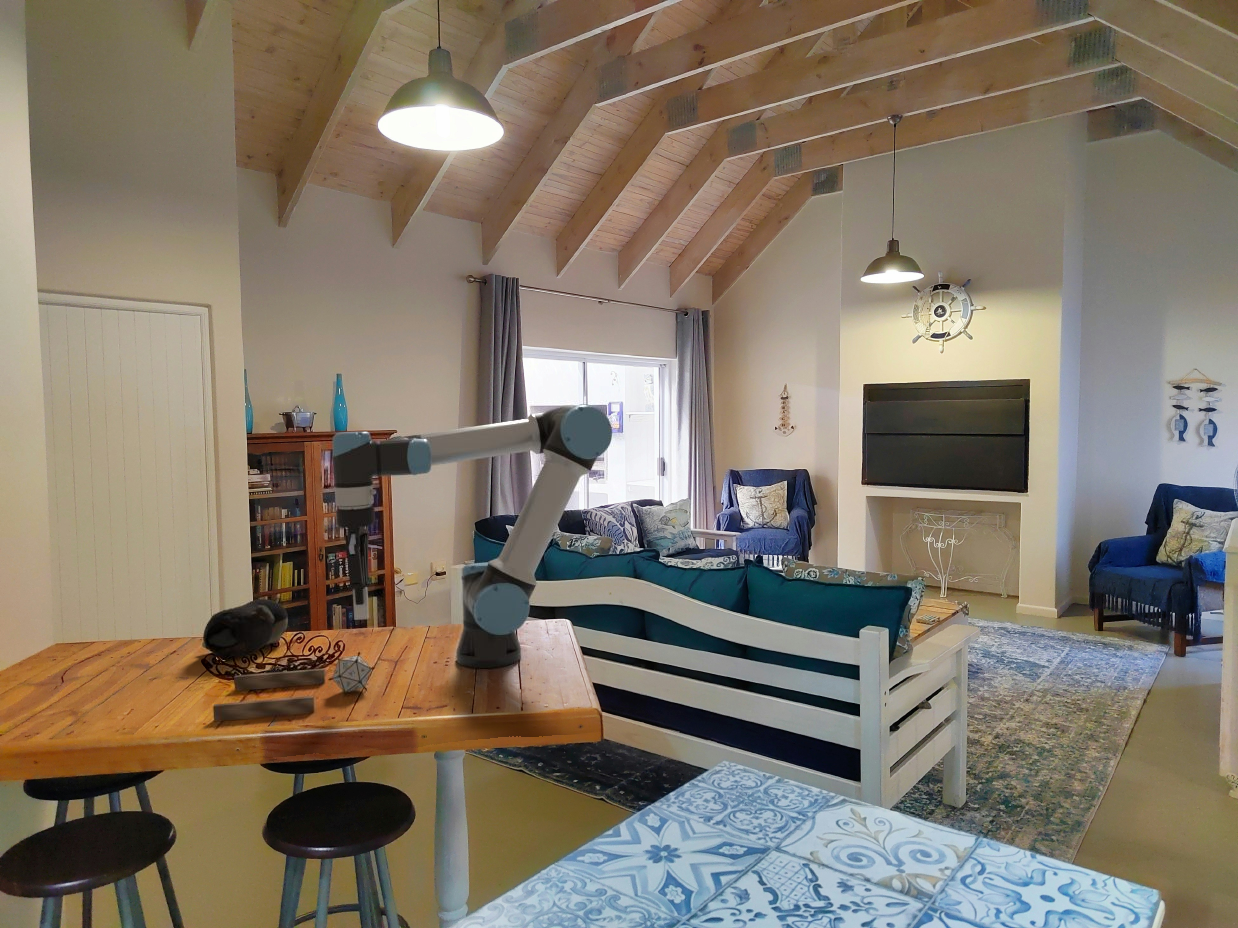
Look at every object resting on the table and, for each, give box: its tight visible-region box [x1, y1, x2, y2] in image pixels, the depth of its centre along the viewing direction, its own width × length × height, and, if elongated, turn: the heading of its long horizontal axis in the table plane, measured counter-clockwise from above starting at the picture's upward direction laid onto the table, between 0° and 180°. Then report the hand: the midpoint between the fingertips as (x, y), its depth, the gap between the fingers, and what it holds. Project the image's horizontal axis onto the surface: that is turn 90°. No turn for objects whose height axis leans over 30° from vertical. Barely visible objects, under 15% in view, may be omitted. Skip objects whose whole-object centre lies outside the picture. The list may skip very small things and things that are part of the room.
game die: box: [327, 651, 376, 697], centre depth 167 cm, size 9×8×10 cm
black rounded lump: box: [201, 598, 289, 661], centre depth 197 cm, size 20×21×13 cm
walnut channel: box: [212, 668, 326, 723], centre depth 162 cm, size 18×18×3 cm
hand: (361, 618), depth 166 cm, fingers closed
